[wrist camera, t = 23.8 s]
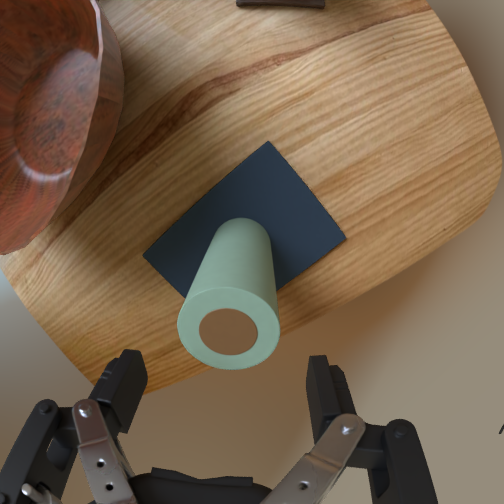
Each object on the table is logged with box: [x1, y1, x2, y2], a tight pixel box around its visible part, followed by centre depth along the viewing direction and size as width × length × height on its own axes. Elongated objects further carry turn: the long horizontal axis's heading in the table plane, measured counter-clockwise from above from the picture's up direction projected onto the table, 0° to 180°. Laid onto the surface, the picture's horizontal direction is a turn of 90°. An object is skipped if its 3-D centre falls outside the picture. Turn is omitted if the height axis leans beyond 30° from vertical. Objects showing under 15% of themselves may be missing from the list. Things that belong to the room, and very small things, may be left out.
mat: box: [142, 141, 346, 299], centre depth 29 cm, size 12×17×1 cm
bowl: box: [0, 0, 125, 255], centre depth 18 cm, size 25×25×11 cm
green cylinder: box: [177, 218, 280, 370], centre depth 22 cm, size 14×6×14 cm
